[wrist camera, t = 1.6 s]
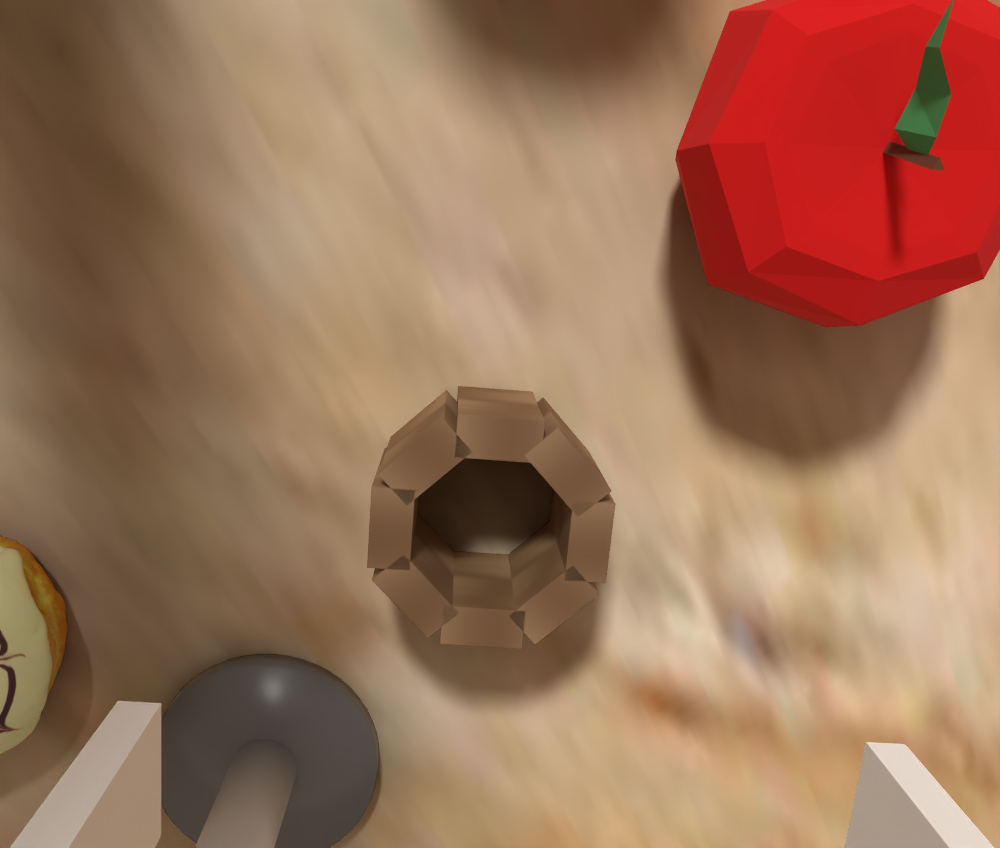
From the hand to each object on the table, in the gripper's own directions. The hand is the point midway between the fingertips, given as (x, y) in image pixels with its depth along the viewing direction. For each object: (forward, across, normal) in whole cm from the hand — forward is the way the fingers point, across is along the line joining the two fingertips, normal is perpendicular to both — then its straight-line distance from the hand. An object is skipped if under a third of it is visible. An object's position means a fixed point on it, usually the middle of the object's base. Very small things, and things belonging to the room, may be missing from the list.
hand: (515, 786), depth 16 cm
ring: (+18, 0, 0) cm, 18 cm away
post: (+18, -8, -12) cm, 23 cm away
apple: (+18, +10, +13) cm, 24 cm away
